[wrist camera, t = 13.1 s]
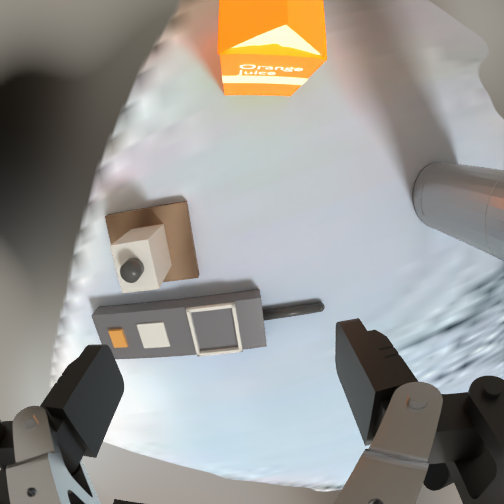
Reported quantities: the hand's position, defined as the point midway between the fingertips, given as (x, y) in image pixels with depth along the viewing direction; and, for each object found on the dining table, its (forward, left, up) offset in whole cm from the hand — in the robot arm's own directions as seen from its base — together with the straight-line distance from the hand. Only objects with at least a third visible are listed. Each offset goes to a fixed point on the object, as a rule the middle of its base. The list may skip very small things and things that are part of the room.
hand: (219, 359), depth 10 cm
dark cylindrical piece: (-56, +72, -27) cm, 95 cm away
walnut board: (+9, +2, -27) cm, 29 cm away
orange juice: (-6, -18, -27) cm, 33 cm away
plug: (+9, +2, -26) cm, 28 cm away
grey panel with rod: (+4, +13, -27) cm, 30 cm away
